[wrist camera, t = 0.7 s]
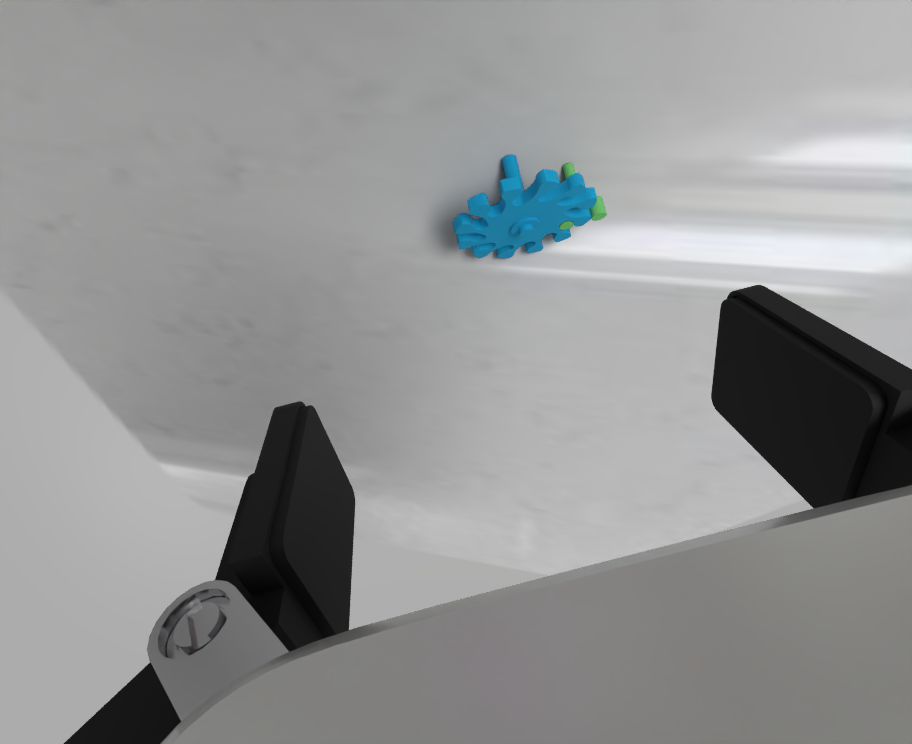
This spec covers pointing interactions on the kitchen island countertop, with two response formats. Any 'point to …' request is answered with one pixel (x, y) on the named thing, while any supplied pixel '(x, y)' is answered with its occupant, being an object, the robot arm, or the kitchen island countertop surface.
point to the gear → (527, 212)
